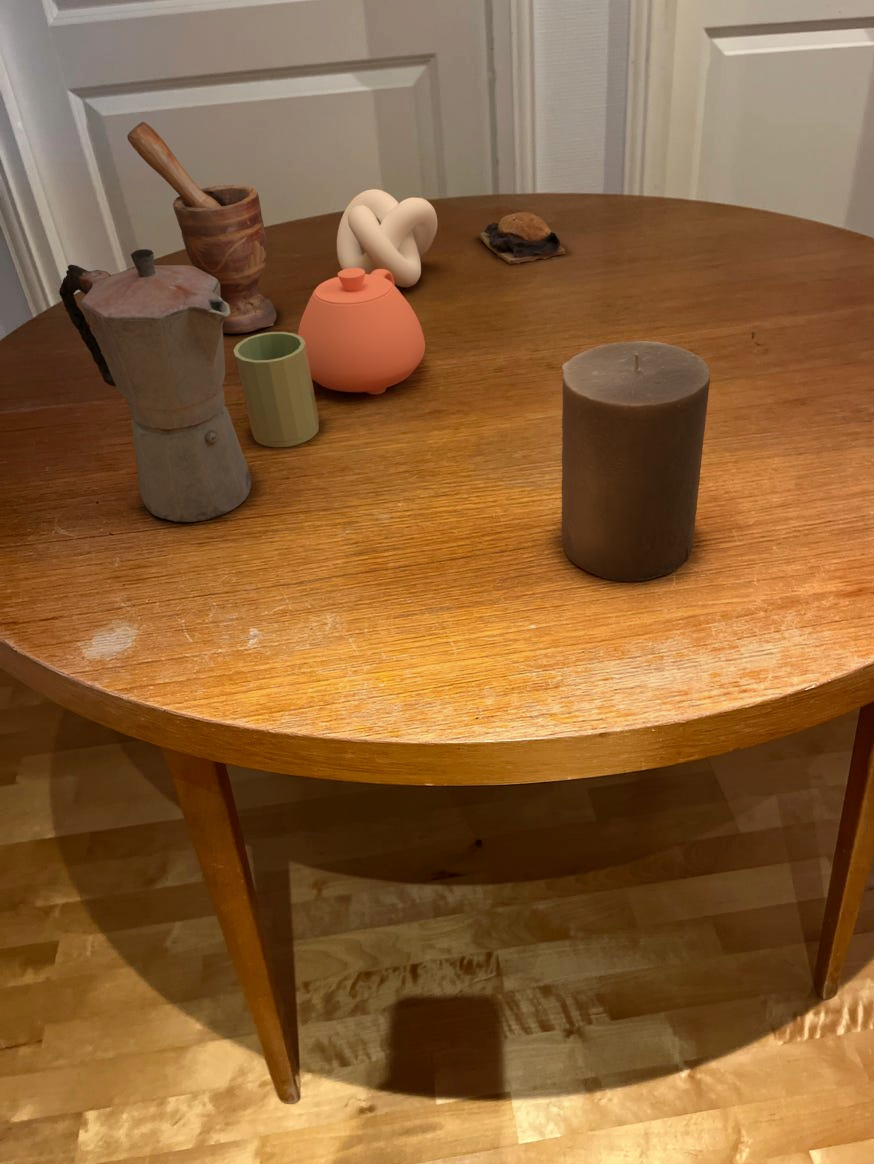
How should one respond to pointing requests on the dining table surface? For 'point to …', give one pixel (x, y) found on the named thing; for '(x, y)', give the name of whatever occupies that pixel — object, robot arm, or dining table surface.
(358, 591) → the dining table surface
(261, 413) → the cup
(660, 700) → the dining table surface
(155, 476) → the moka pot
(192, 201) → the mortar and pestle
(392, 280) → the sugar bowl
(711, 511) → the dining table surface
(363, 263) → the cream knot sculpture
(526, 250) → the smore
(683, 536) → the pillar candle
